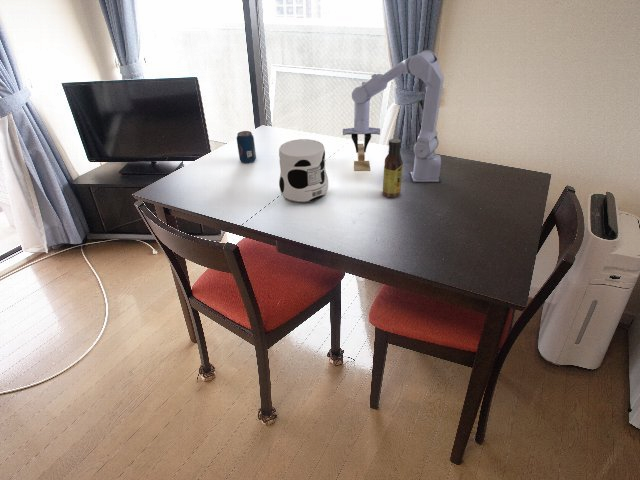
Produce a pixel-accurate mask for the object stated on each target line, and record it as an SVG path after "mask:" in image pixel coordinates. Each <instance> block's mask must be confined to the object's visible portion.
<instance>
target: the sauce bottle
mask: <svg viewBox="0 0 640 480" xmlns="http://www.w3.org/2000/svg"><path fill="white" fill-rule="evenodd" d="M401 145H402V140H401V139H400V138H389V139H388V151H387V152H388V153H387V155H386V157H385V159H384V166H383V176H382V177H383V178H382V179H383V180H382V194H383V196H384V197H385V198H391V199H394V198H398V197H399V196H400V194H401V190H402V179H403V178H402V176H403V167H404V162H403V158H402V155H401Z"/></svg>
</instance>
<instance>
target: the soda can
mask: <svg viewBox="0 0 640 480" xmlns="http://www.w3.org/2000/svg"><path fill="white" fill-rule="evenodd" d="M236 135H237V136H236V144H237V152H238V159H239V161H240V162H241V163H242V164H245V165H247V164H252V163H255V161H256V159H257V153H256V145H255V137H254V135H253V133H252V131H249V130H242V131H239V132H238V133H237V134H236Z"/></svg>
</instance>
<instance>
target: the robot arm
mask: <svg viewBox="0 0 640 480" xmlns="http://www.w3.org/2000/svg"><path fill="white" fill-rule="evenodd" d="M439 61H440V60H439V57H438V56H437V55H436V54H435V53H434V52H433V51H432V50H430V49H424V50H422V51H421V52H419V53H417V54H414V55H412V56H410V57H408V58H405V59H404V60H402V61H400V62H399V63H398V64H396V65H395V66H393V67H391V68H390V69H389V70H388V71H386V72H385V73H384V74H382V73H374V74H372V75H371V76H370V78H369V79H368V80H366V81H362V82H361V85H359V86H356V87H355V88H354V89H353V90H352V92H351V99H352V100H353V103H354V104H353V127H349V128H342V136H346V135H347V136H348V135H350V136H351V141H352V142H353V144H354V147H355V148H354V149H355V153H357V154H358V144H359V135H363V136H364V137H363V145H364V154H365V153H366V152H367V148H368V145H369V143H370V141H371V139H372V135H377V136H380V135H381V127H371V126H370V106H371V105H370V103H371V99H372V97H375V96H376V95H378V94H379V93H381V92H382V91H384V90H385V89H387V87H388V83H389V82H391V81H393V80H394V79H396V78H397V77H399V76H401V75H402V74H407V75H409V74H412V75H413V76H414V77H416V78H418V79H420V80H421V81H422V82H423V83H424V84H425V85H426V87H425V97H424V104H423V110H422V118H421V119H422V120H421V127H420V132H419V133H418V135H417V139H416V143H415V144H414V146H413V154H414V161H413V170H412V171H410V176H411V179H412V182H413V183H439V182H440V174H441V167H442V157H441V155H440V154H436V151H435V150H436V149H437V148H438V147H439V143H440V141H439V138H438V132H439V131H437V124H438V118H439V113H440V106H441V98H442V92H443V86H444V74H443V72H442V68H441V66H440V63H439Z"/></svg>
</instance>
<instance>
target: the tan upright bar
mask: <svg viewBox="0 0 640 480" xmlns="http://www.w3.org/2000/svg"><path fill="white" fill-rule="evenodd" d="M365 158H366V156H365V153H364V143H358V153H357V160H353V171H354V172H371V165H370V164H371V163H370V160H365Z"/></svg>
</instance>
